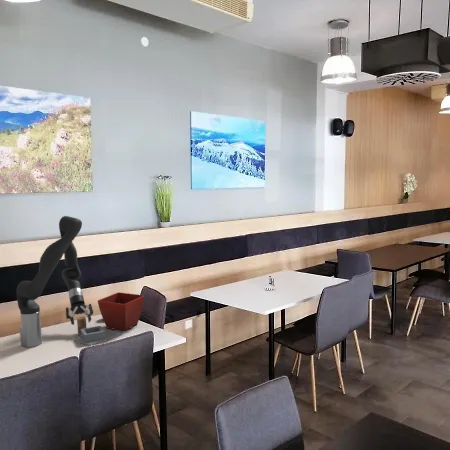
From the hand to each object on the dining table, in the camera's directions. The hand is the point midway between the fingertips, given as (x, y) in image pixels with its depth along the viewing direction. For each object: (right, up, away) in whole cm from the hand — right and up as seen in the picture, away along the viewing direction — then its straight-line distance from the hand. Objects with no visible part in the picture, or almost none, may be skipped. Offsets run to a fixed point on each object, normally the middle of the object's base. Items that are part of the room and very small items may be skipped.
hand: (81, 322), depth 247 cm
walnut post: (0, -6, 0) cm, 6 cm away
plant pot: (+20, -5, +12) cm, 23 cm away
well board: (+11, -7, -6) cm, 14 cm away
